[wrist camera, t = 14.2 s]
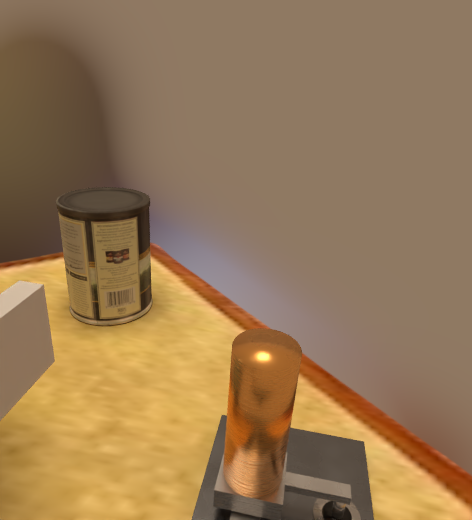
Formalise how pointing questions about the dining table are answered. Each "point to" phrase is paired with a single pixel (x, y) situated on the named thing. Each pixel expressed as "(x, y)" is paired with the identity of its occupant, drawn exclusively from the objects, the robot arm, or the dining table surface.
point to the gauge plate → (304, 463)
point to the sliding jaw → (265, 430)
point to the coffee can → (106, 254)
